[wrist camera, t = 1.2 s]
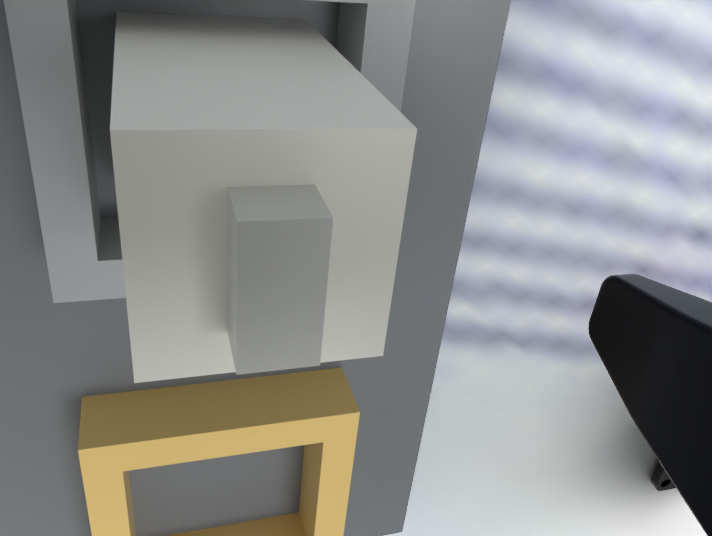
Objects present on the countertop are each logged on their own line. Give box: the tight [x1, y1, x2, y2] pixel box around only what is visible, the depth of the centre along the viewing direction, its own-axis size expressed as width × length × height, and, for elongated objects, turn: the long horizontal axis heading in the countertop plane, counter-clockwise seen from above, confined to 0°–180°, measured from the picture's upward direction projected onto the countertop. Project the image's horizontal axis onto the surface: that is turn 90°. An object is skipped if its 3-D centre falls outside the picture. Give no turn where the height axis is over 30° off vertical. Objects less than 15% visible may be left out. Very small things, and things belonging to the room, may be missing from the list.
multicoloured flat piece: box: [0, 0, 511, 536], centre depth 18 cm, size 14×22×3 cm, turn 174°
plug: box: [110, 12, 417, 383], centre depth 12 cm, size 4×4×8 cm
